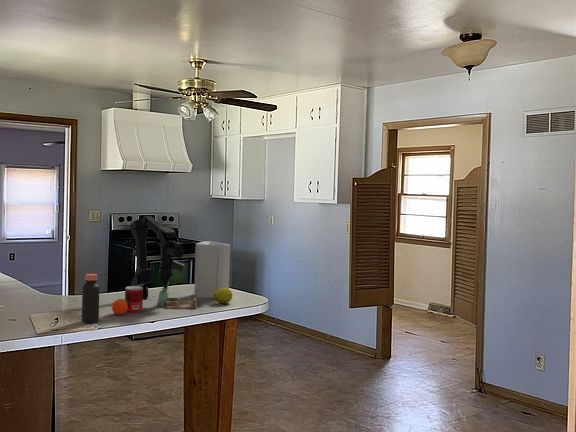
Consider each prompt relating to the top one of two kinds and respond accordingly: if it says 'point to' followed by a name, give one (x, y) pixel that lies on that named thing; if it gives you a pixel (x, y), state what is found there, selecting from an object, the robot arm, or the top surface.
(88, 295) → the vinegar
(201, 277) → the paper bag
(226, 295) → the lemon
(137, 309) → the canned food
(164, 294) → the bottle
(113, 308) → the clementine
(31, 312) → the top surface
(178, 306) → the cradle
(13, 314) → the top surface
